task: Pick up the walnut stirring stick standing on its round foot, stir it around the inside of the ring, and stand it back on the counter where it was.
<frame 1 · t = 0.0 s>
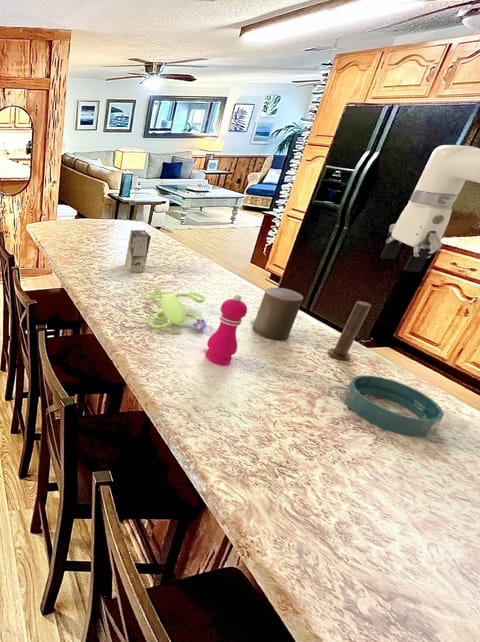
hand: (399, 264, 102), 27 cm above the countertop, tool pointing down, fingers open, 9 cm apart
stick: (338, 355, 111), on the countertop
pillar candle: (269, 332, 123), on the countertop
coffee box: (134, 268, 170), on the countertop
ring: (382, 416, 89), on the countertop
pepper mill: (217, 359, 109), on the countertop
figurine: (173, 315, 132), on the countertop
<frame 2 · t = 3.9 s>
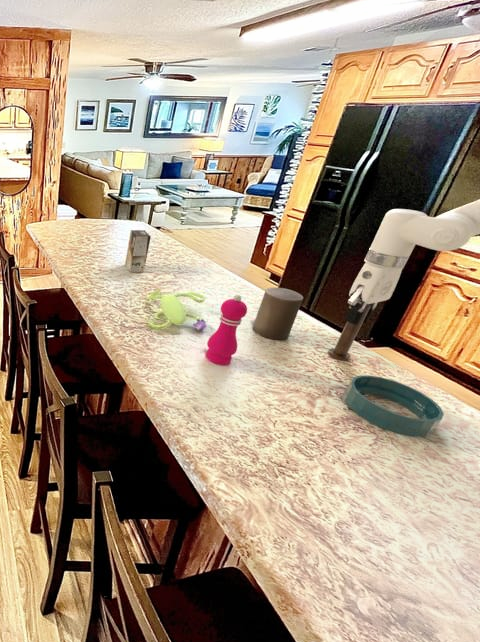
hand: (355, 321, 106), 12 cm above the countertop, tool pointing down, fingers closed on stick, 3 cm apart
stick: (338, 355, 111), on the countertop, touching gripper
everything else where it was.
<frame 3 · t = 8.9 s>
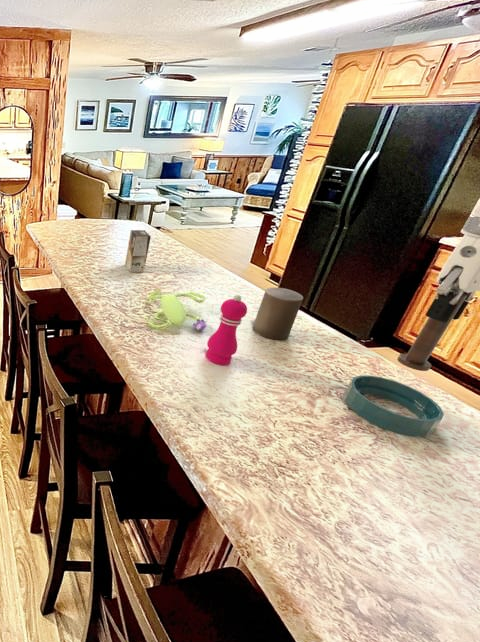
hand: (441, 316, 78), 26 cm above the countertop, tool pointing down, fingers closed on stick, 3 cm apart
stick: (412, 364, 83), point 15 cm above the countertop, touching gripper
everything else where it was.
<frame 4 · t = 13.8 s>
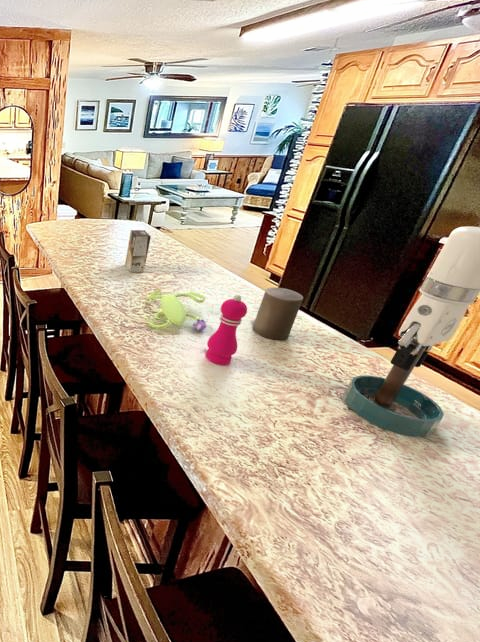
hand: (404, 364, 85), 13 cm above the countertop, tool pointing down, fingers closed on stick, 3 cm apart
stick: (380, 405, 90), point 2 cm above the countertop, touching gripper
everything else where it was.
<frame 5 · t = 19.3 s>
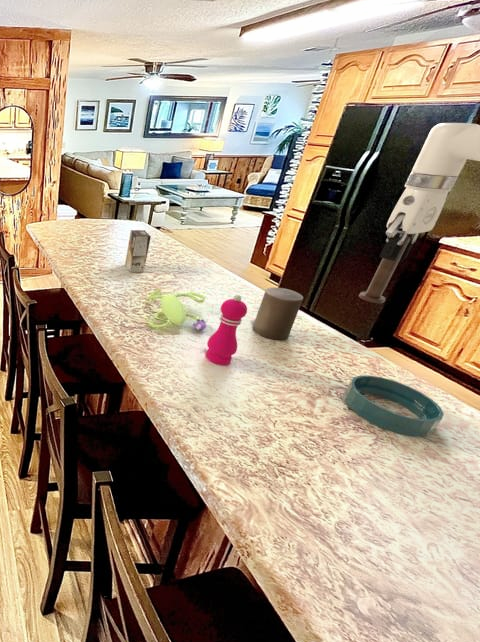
hand: (392, 257, 96), 31 cm above the countertop, tool pointing down, fingers closed on stick, 3 cm apart
stick: (371, 299, 101), point 19 cm above the countertop, touching gripper
everything else where it was.
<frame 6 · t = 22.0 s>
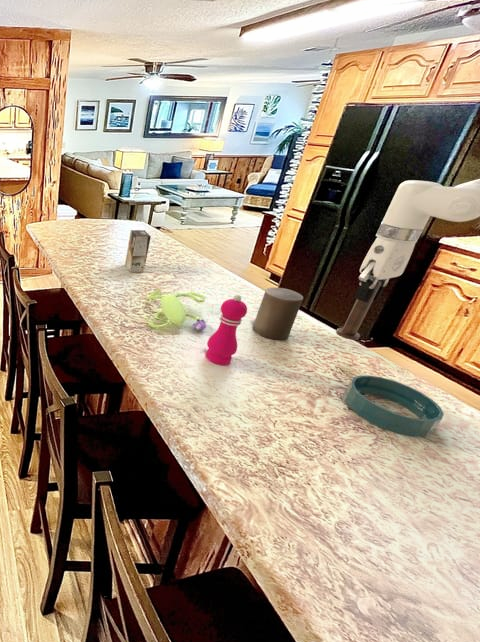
hand: (365, 298, 103), 18 cm above the countertop, tool pointing down, fingers closed on stick, 3 cm apart
stick: (347, 335, 108), point 7 cm above the countertop, touching gripper
everything else where it was.
when the fingers open (12 cm above the countertop, at t = 23.8 s): stick stays where it is, on the countertop.
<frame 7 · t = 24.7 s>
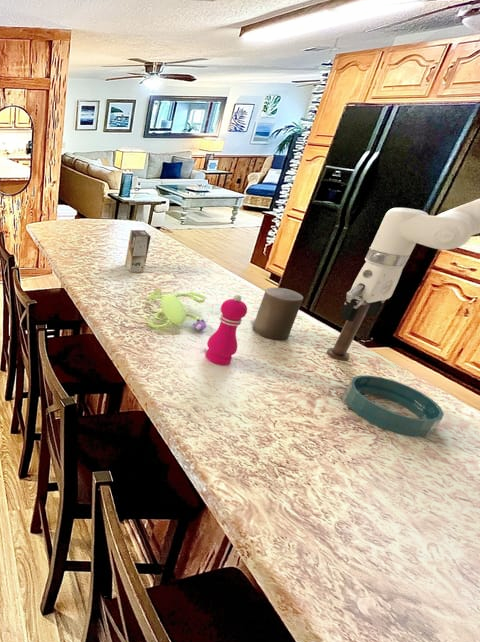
hand: (357, 316, 106), 13 cm above the countertop, tool pointing down, fingers open, 9 cm apart
stick: (337, 355, 111), on the countertop
everything else where it was.
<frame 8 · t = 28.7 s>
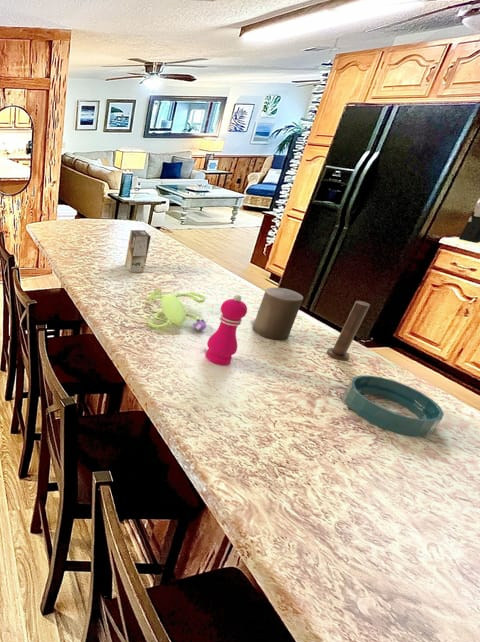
nothing on the countertop moved.
at the end: stick inside the target area (0.3 cm from its centre), on the countertop; stick tilted 0°; ring moved 0.0 cm from its start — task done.
